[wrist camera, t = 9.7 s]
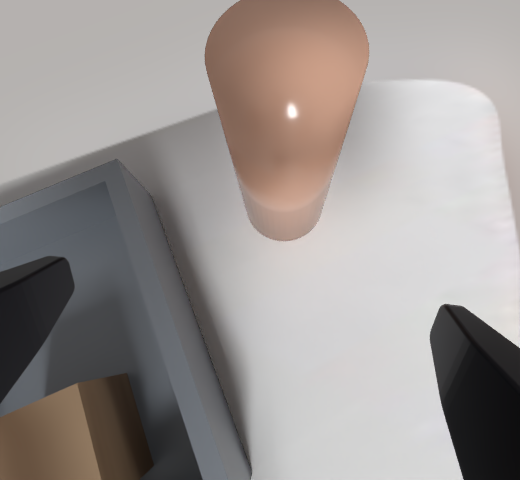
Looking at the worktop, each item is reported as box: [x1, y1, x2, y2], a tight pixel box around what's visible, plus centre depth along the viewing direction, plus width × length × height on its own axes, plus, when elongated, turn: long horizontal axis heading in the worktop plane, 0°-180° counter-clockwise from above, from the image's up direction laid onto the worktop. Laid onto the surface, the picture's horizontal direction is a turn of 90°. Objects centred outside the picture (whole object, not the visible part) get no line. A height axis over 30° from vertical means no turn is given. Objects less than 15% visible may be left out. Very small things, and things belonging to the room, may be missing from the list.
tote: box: [0, 159, 252, 480], centre depth 19 cm, size 18×14×5 cm
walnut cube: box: [0, 373, 154, 480], centre depth 17 cm, size 5×5×5 cm
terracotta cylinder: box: [205, 0, 369, 241], centre depth 17 cm, size 5×5×13 cm
